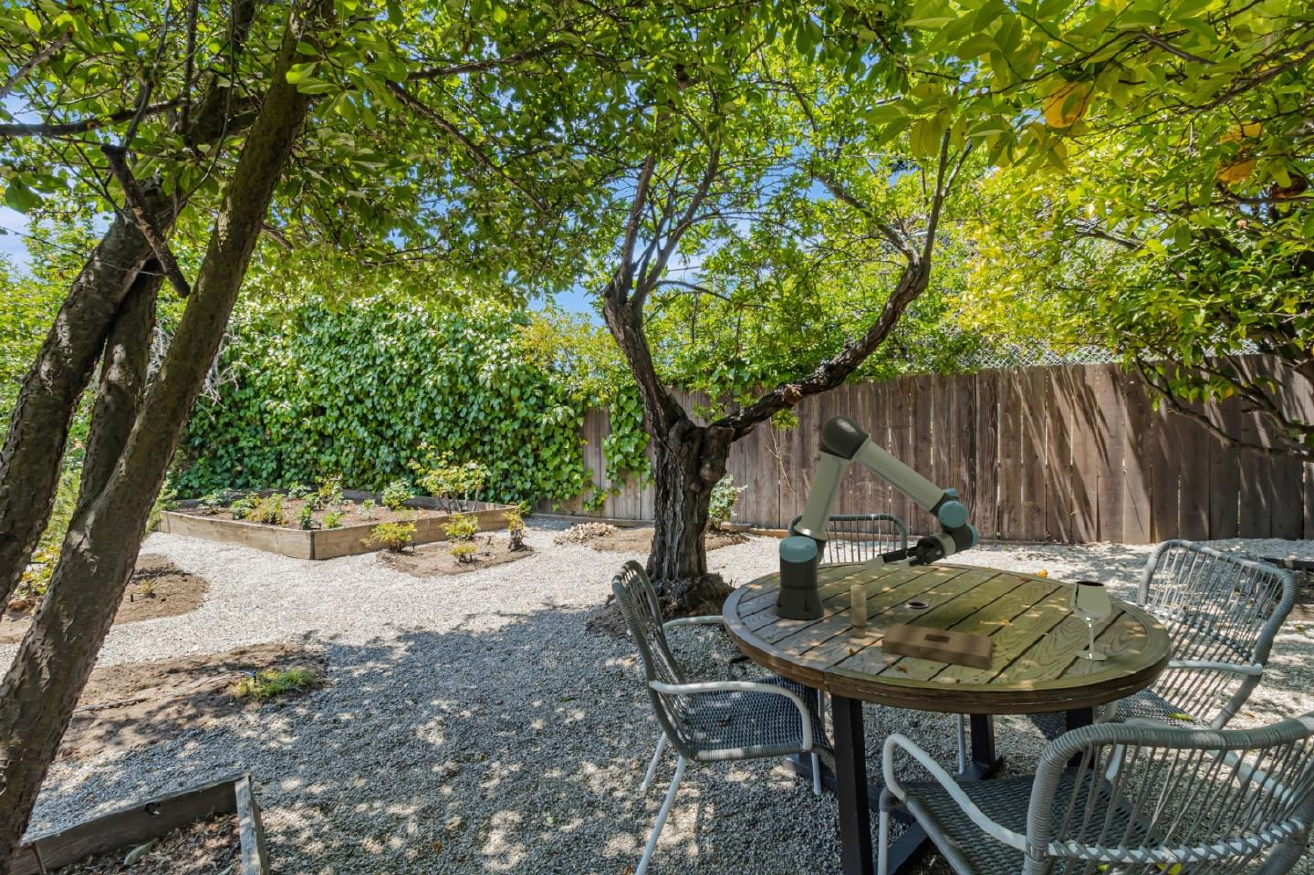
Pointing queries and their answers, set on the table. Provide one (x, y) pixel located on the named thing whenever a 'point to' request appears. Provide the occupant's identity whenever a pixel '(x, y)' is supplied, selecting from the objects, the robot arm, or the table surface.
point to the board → (939, 645)
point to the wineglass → (1090, 610)
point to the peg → (858, 610)
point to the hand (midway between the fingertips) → (882, 566)
